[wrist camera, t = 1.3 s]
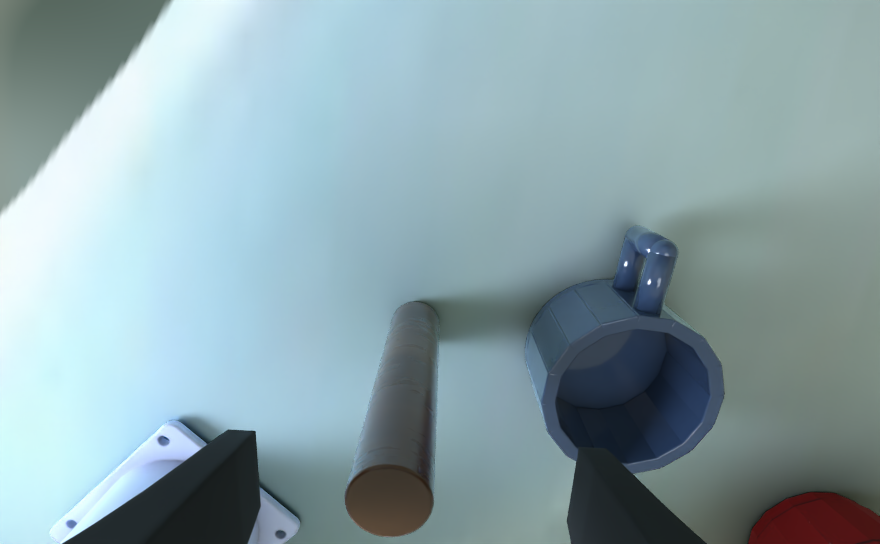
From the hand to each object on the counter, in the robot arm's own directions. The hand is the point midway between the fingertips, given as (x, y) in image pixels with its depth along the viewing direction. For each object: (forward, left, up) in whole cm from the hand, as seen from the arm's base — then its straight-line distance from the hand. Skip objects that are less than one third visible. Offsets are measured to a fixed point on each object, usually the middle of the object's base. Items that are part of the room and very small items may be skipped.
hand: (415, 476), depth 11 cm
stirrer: (-1, 0, -10) cm, 10 cm away
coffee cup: (+5, -5, -10) cm, 12 cm away
